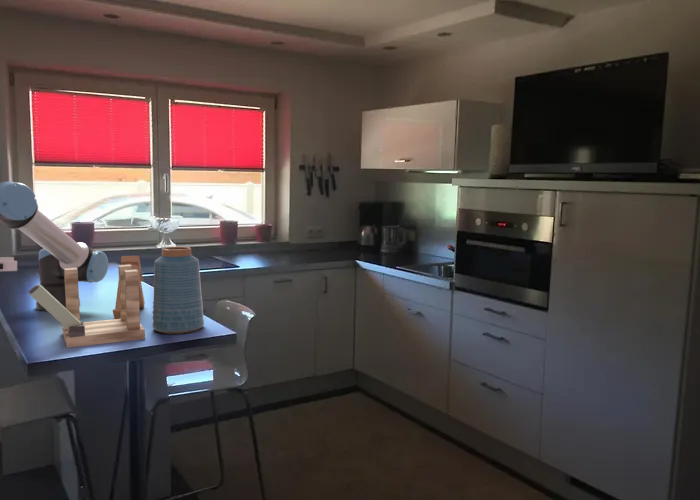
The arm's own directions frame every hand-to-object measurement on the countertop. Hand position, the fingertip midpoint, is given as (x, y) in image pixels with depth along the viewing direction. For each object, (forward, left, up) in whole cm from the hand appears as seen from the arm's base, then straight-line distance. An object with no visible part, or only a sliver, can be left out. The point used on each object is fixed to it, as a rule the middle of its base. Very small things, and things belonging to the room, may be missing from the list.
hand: (15, 263), depth 171 cm
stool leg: (0, +15, -20) cm, 25 cm away
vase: (-5, +46, -25) cm, 53 cm away
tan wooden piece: (-31, +35, -25) cm, 53 cm away
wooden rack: (-6, +23, -25) cm, 34 cm away
